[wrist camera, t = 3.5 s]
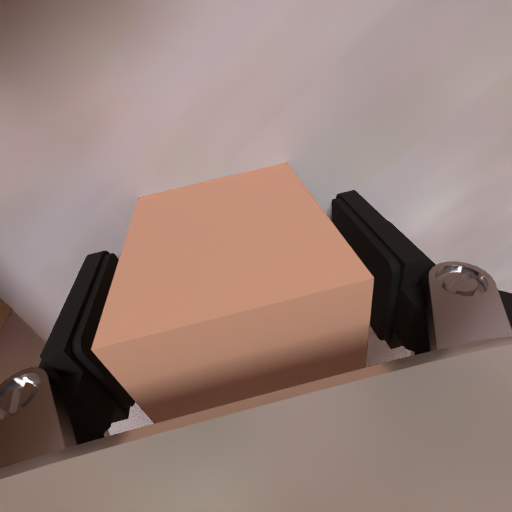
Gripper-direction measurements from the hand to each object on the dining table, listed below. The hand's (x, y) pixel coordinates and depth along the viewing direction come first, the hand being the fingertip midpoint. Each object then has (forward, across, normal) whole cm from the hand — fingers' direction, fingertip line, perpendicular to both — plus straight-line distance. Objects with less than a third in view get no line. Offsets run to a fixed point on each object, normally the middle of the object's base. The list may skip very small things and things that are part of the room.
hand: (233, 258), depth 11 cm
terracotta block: (+1, 0, 0) cm, 1 cm away
